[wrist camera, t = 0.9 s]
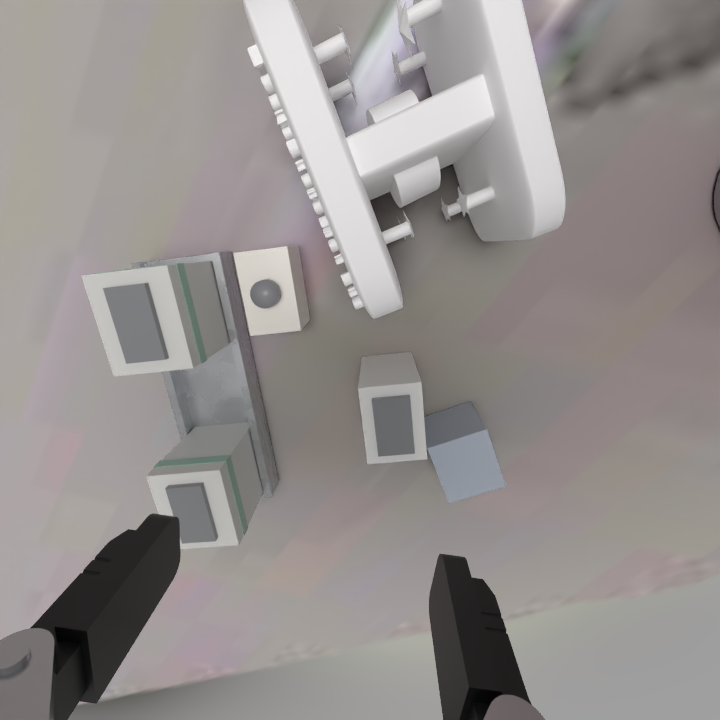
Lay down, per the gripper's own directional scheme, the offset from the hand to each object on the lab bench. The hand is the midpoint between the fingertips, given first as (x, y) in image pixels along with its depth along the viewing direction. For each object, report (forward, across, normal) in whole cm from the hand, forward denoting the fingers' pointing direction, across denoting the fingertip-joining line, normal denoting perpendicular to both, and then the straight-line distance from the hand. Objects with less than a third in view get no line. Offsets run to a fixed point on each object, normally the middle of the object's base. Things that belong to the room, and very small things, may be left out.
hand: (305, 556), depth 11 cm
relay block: (+20, -9, +5) cm, 23 cm away
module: (+20, -3, +2) cm, 20 cm away
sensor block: (+20, +6, -5) cm, 22 cm away
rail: (+20, +11, +3) cm, 23 cm away
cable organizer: (+20, -2, -14) cm, 25 cm away
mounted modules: (+19, +11, +3) cm, 22 cm away
